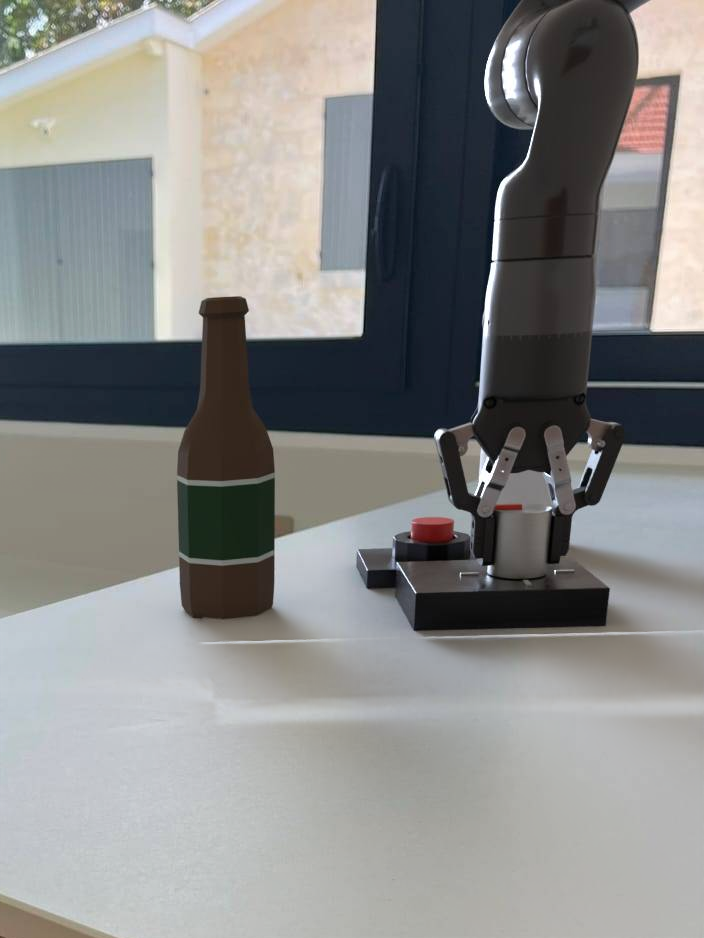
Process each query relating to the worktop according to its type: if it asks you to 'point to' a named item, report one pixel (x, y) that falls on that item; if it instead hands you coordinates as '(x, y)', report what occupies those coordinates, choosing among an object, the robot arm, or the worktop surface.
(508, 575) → the burner knob
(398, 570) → the panel
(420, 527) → the button
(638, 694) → the worktop surface
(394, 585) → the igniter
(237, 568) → the beer bottle
